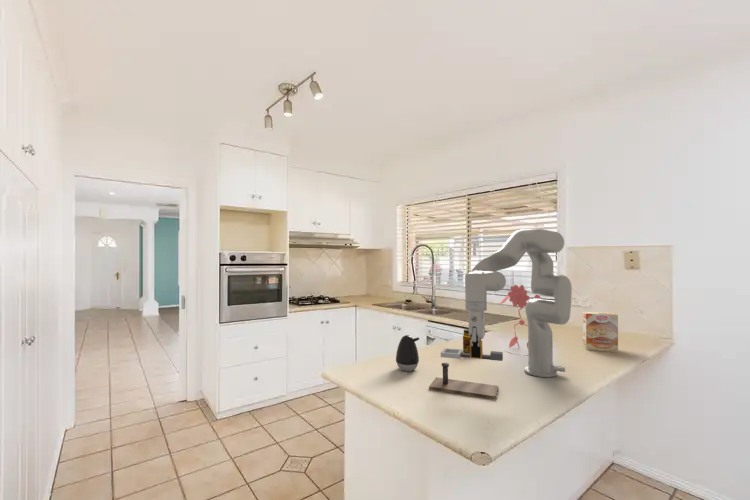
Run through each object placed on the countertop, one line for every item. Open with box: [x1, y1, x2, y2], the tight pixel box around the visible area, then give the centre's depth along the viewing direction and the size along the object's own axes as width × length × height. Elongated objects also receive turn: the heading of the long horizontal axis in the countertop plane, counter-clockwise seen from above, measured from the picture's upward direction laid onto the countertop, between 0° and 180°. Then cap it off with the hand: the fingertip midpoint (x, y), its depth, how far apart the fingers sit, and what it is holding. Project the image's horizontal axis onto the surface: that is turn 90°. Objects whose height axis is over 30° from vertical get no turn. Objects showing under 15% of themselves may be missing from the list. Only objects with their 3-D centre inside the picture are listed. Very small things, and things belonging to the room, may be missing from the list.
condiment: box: [462, 328, 471, 353], centre depth 186 cm, size 7×8×12 cm
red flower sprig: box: [500, 284, 542, 357], centre depth 190 cm, size 15×26×35 cm, turn 32°
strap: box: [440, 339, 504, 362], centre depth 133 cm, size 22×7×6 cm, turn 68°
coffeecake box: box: [582, 311, 619, 353], centre depth 192 cm, size 15×7×20 cm, turn 73°
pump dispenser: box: [395, 334, 420, 372], centre depth 160 cm, size 10×10×15 cm
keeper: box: [428, 362, 499, 401], centre depth 136 cm, size 24×11×9 cm, turn 66°
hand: (476, 355), depth 132 cm, fingers closed on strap, 3 cm apart
